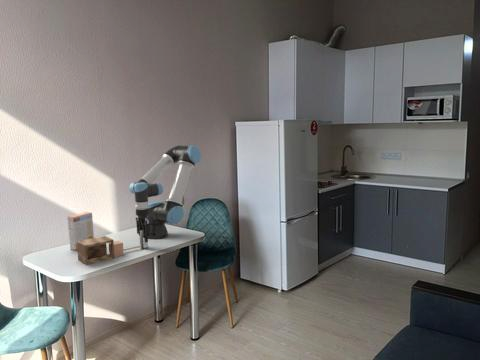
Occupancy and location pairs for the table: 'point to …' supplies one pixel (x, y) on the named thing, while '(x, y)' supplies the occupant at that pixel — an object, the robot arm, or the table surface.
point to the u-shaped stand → (119, 248)
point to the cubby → (94, 250)
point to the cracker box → (80, 228)
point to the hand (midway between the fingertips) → (144, 246)
